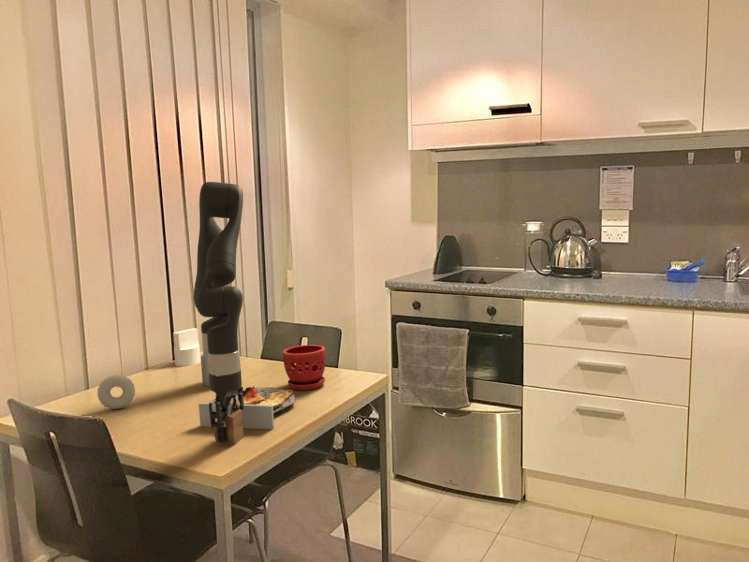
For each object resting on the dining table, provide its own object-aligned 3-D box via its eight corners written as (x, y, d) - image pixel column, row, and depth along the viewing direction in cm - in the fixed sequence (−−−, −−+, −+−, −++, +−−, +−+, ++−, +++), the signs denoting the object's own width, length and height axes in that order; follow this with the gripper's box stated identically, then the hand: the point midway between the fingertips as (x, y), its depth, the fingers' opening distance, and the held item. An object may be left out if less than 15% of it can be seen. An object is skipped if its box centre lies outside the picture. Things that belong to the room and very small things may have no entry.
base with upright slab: (190, 358, 227) (187, 327, 225) (205, 361, 222) (203, 329, 220) (170, 364, 219) (167, 332, 218) (185, 367, 214) (182, 334, 213)
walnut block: (215, 444, 144) (213, 416, 143) (224, 436, 149) (222, 409, 148) (234, 445, 143) (232, 417, 142) (243, 437, 148) (241, 409, 147)
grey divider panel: (200, 426, 156) (198, 403, 155) (202, 424, 157) (200, 402, 156) (272, 429, 152) (271, 406, 151) (274, 427, 153) (272, 405, 152)
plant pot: (329, 379, 193) (328, 343, 192) (322, 392, 180) (320, 353, 179) (290, 379, 194) (288, 343, 193) (280, 392, 182) (277, 354, 180)
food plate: (251, 389, 185) (250, 378, 185) (312, 400, 174) (311, 389, 173) (189, 417, 164) (188, 405, 164) (253, 432, 152) (252, 419, 152)
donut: (98, 413, 169) (95, 379, 167) (99, 409, 172) (96, 375, 171) (136, 408, 172) (133, 374, 171) (136, 404, 175) (133, 371, 174)
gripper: (223, 361, 151) (228, 424, 153) (195, 377, 137) (201, 447, 139) (251, 361, 150) (255, 425, 152) (226, 378, 136) (230, 448, 138)
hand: (229, 435), depth 146 cm, fingers open, 6 cm apart
